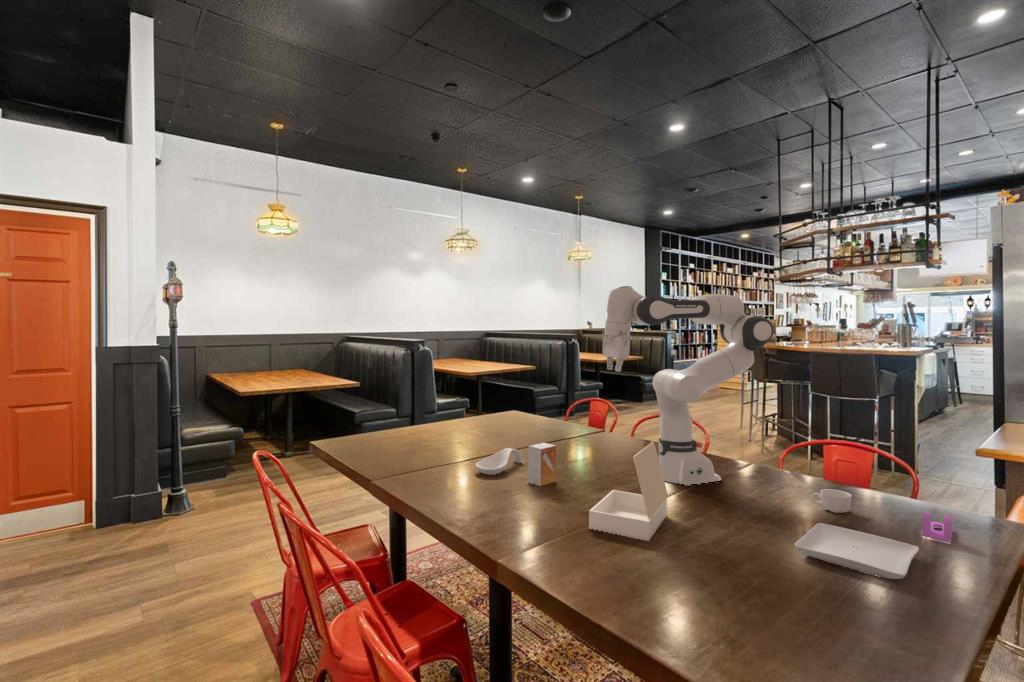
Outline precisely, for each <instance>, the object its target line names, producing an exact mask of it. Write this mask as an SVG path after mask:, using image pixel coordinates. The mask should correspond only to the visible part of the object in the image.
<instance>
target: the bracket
mask: <svg viewBox="0 0 1024 682" xmlns="http://www.w3.org/2000/svg"><path fill="white" fill-rule="evenodd" d="M931 514H932V513H931V511H929V510H922V532H921V533H922V536H925V537H930V538H933V539H937V540H941V541H946V542H950V543H951V544H952V540H951V538H952V539H953V516H952V515H950V514H944V515H943V516H944V517H943V518H944V519H943V520H944V521H943V523H942V522H939V521H931V519H932V518H931V516H932V515H931ZM934 526H939V527H942V528H943V530H937V529H934ZM922 536H921V537H922Z"/></svg>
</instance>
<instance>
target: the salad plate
mask: <svg viewBox="0 0 1024 682" xmlns="http://www.w3.org/2000/svg"><path fill="white" fill-rule="evenodd" d="M853 546H854V547H853ZM794 547H795V549H797V550H798V551H799V552H801V553H802V554H804V555H806V556H808V557H811V558H814V559H816V558H817V559H816V560H818V559H821V560H825V561H828V562H831V563H835V564H838V565H842V566H845V567H848V568H852V569H856V570H859V571H863V572H866V573H869V574H873V575H877V576H880V577H879V578H881V577H884V578H883V579H888V580H901V579H904V578H905V577H906V576H907V575H908V571H909V569H910V565H911V564H912V561H913V559H914V558H915V557H916V556H917V554H918V553H919V551H920V547H919V546H917V545H914V544H910V543H908V542H902V541H899V540H895V539H891V538H888V537H884V536H880V535H876V534H872V533H867V532H863V531H859V530H854V529H852V528H851V529H850V528H847V527H842V526H837V525H833V524H829V523H825V522H823V523H822V522H817V523H816V524H814V526H813V527H811V528H810V530H808V531H807V532H806V533H805V534H804V535H803V536H802V537H800V538H799V539H798V540H797V541H796V542H795V543H794ZM857 548H858V549H857ZM821 560H820V561H821ZM828 562H827V563H828ZM831 563H830V564H831ZM838 565H837V566H838ZM845 567H844V568H845ZM848 568H847V569H848ZM852 569H851V570H852ZM859 571H858V572H859ZM866 573H865V574H866ZM869 574H868V575H869ZM873 575H872V576H873ZM877 576H876V577H877Z"/></svg>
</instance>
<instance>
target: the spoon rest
mask: <svg viewBox="0 0 1024 682" xmlns="http://www.w3.org/2000/svg"><path fill="white" fill-rule="evenodd" d="M511 453H512V457H513V459H512V460H513V461H512V462H514V463H515V462H516V463H515V464H520V463H522V464H523V463H524V459H523V456H522V454H521V452H520V451H519V450H518V449H516V448H511V447H506V448H503V449H501V450H499V451H497V452H495V453H493V454H492V455H489V456H487V457H485V458H483V459H480V460H479V461H477V462H476V463H475V468H476V469H477V470H478V471H479V472H480V473H482V474H483V475H486V474H487V476H497V475H500V474H501V473H502V472H503V471H504V470H505V469H506V468H507V466H508V463H509V460H510V455H511ZM499 473H500V474H499ZM496 474H497V475H496Z"/></svg>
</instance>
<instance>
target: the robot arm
mask: <svg viewBox="0 0 1024 682" xmlns="http://www.w3.org/2000/svg"><path fill="white" fill-rule="evenodd" d="M606 307H607V308H606V313H607V317H606V320H605V325H604V329H603V330H602V331H601V336H602V337H603V339H602V356H604V357H606V369H607V370H610V371H611V370H613V369H614V371H615V372H617V373H619V372H621V371H622V367H623V364H624V360H628V359H629V357H630V349H631V348H630V347H631V342H630V341H631V340H630V337H631V329H632V328H631V327H632V323H634V324H637V325H640V326H642V325H643V326H646V325H650V326H657V325H661V324H663V323H665V322H667V321H670V320H677V319H690V320H691V321H692V322H693V324H698V325H707V326H709V325H710V326H711V325H713V326H714V325H718V326H719V333H720V337H721V338H722V340H723V341H724V342H726V343H727V345H726V346H725V347H724V348H723V347H722V348H721V349H718V350H716V351H714V352H711V353H710V354H707V355H705V356H702V357H700V358H698V359H697V360H696V361H695V362H694V363H693V364H691V365H690V366H688V367H686V368H684V369H673V368H666V369H662V370H659V371H658V372H656V373H655V374H654V376H653V378H652V387H653V389H654V392H655V396H656V400H657V401H656V402H657V406H658V411H659V418H660V419H659V420H660V421H659V424H660V425H659V426H660V430H659V437H658V455H659V456H658V459H659V462H660V466H661V470H662V474H663V478H664V482H668V483H673V484H678V483H679V485H682V484H684V485H683V486H692V485H691V484H697V485H702V484H701V483H706V484H709V483H708V482H714V481H720V480H721V481H722V477H721V476H720V475H719V474H717V473H715V468H714V467H715V466H714V464H713V462H712V461H711V460H710V459H709V458H708V457H707V456H705V455H704V454H703V453H702V452H701V451H699V450H698V448H699V449H701V448H703V443H702V442H700V441H696V440H695V439H693V417H692V414H691V412H690V410H689V405H688V404H691V403H696V402H697V401H699V400H700V399H701V398H702V397H703V396H702V395H703V394H705V393H707V392H708V391H709V390H710V389H713V387H716V386H718V385H720V384H722V383H725V382H727V381H729V380H731V379H733V378H735V377H737V376H739V375H741V374H743V373H744V372H746V371H747V370H749V369H750V368H751V367H752V366H753V365H754V363H755V355H754V352H759V351H761V350H762V349H763V347H764V346H766V344H768V343H769V342H770V340H772V338H773V336H774V331H775V329H774V325H773V323H772V322H771V321H770V320H769V319H768V318H766V317H763V316H760V315H747V314H746V313H745V304H744V302H743V300H742V299H741V298H740V297H739V296H736V295H731V294H722V293H721V294H719V293H709V294H701V295H695V296H694V297H692V298H691V299H687V300H686V299H682V300H680V299H679V300H678V299H677V300H676V299H675V300H672V299H668V298H666V297H664V296H660V295H658V294H657V295H656V294H653V295H652V294H651V295H648V296H644V295H642V294H640V293H638V292H637V291H636V290H635V289H634V288H633V287H632V286H629V285H626V286H623V285H622V286H617V287H614V288H612V289H611V290H610V292H609V295H608V300H607V306H606ZM614 358H615V359H616V360H615V361H616V364H615V366H614V363H613V362H614Z"/></svg>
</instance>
